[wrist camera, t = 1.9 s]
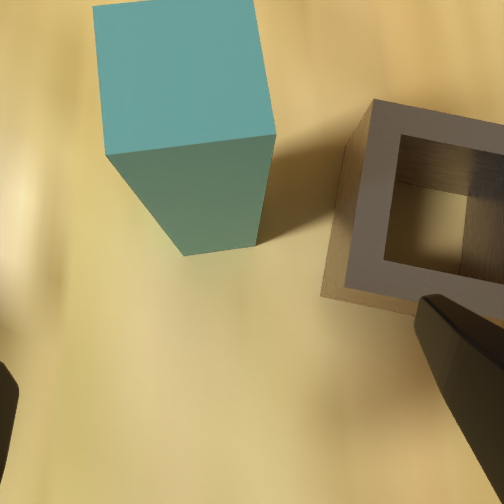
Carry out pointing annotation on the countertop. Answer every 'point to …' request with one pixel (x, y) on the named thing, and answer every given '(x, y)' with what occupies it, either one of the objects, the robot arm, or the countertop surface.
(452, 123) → the block
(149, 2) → the square bit
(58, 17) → the countertop surface
